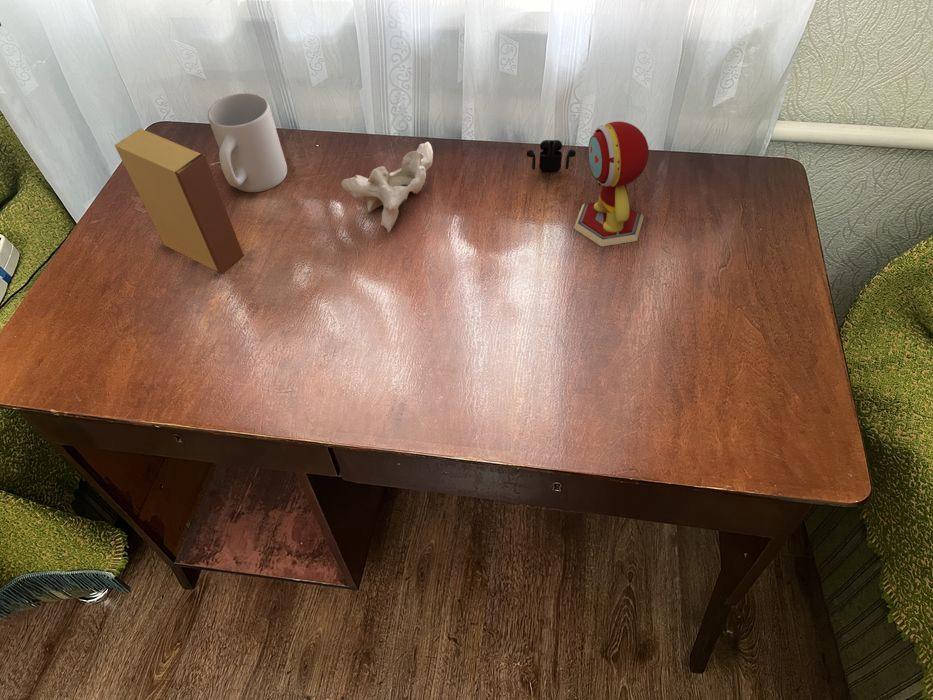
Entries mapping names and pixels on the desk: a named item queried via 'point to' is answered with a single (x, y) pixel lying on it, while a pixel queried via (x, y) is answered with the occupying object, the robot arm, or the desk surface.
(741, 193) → the desk surface
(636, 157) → the figurine
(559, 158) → the wireless earbuds
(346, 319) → the desk surface
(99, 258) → the desk surface
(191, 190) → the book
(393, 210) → the decorative object
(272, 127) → the mug
